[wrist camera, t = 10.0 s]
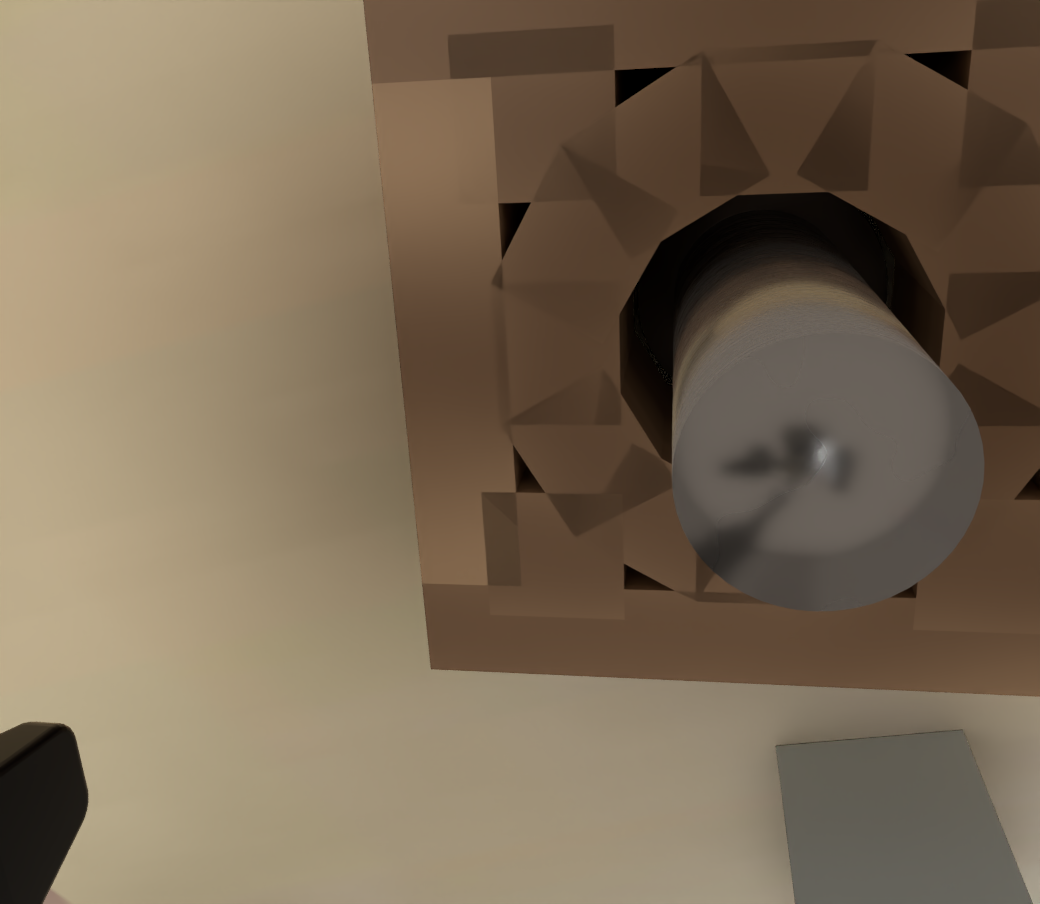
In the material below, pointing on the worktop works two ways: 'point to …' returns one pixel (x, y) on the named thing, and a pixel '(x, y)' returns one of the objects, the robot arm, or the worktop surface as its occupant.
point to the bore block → (655, 261)
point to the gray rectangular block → (894, 823)
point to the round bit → (810, 424)
